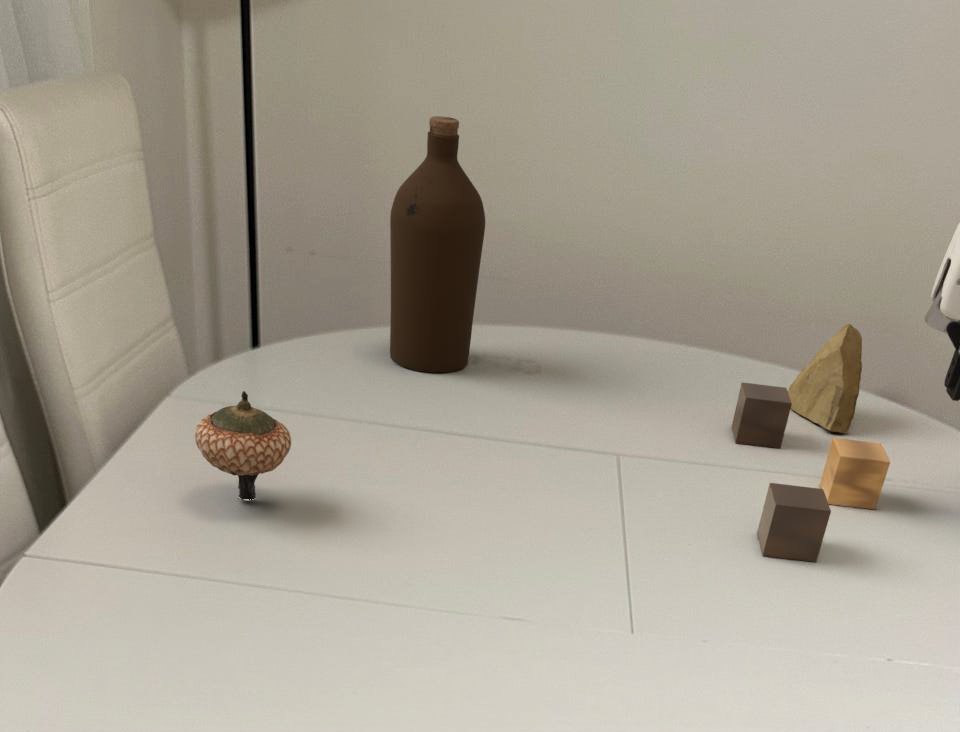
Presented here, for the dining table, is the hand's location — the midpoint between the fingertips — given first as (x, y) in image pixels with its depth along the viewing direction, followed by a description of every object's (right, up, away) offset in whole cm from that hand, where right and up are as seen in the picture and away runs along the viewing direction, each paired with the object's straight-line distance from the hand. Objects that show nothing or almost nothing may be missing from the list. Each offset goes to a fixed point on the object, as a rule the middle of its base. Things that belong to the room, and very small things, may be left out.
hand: (957, 396), depth 116 cm
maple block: (-8, -8, +7) cm, 13 cm away
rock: (-7, +7, +25) cm, 27 cm away
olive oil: (-52, +15, +28) cm, 61 cm away
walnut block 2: (-17, -15, -4) cm, 24 cm away
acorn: (-67, -12, -7) cm, 69 cm away
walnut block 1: (-15, +2, +18) cm, 24 cm away
